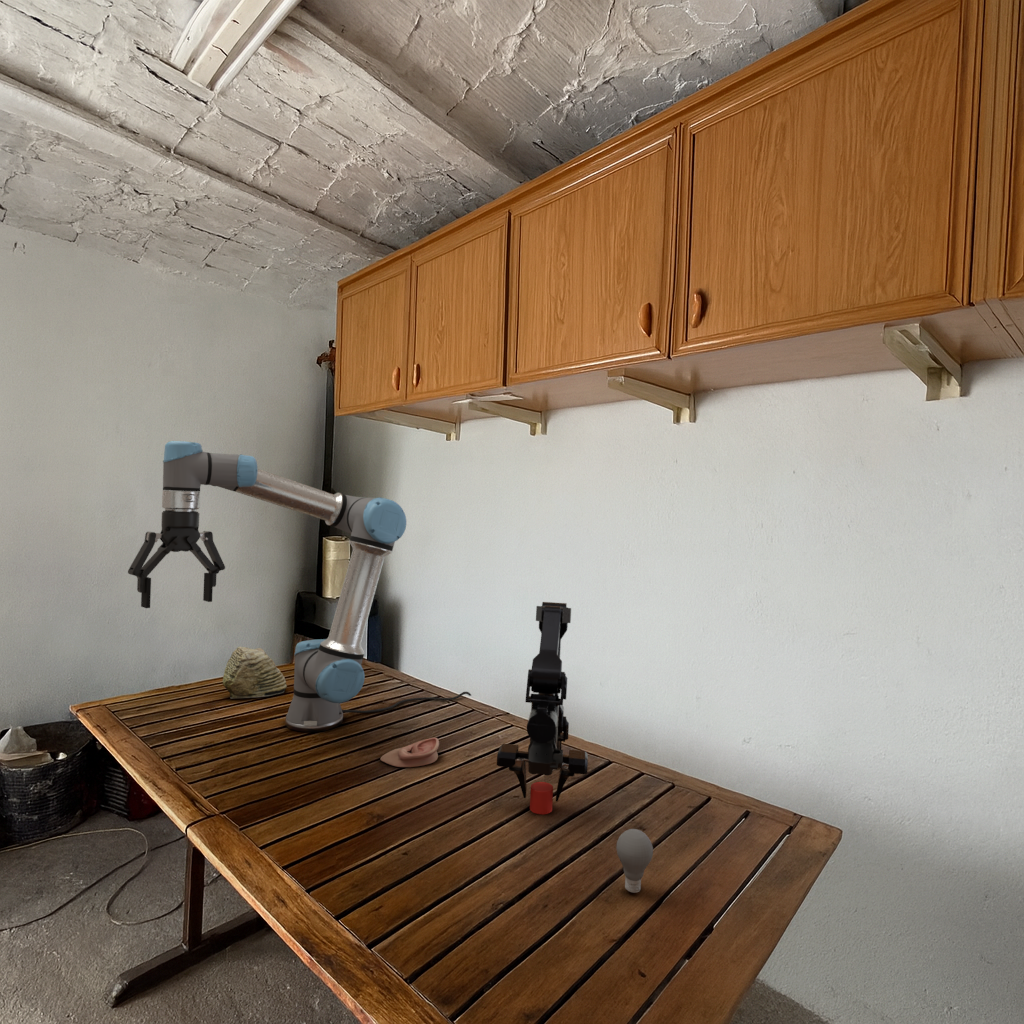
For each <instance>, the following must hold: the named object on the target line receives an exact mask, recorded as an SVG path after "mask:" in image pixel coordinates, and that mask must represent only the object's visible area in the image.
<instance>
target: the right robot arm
mask: <svg viewBox="0 0 1024 1024" xmlns="http://www.w3.org/2000/svg"><path fill="white" fill-rule="evenodd" d="M535 609H536V610H535V612H536V613H535V621H536V622H538V630H539V632H540V634H541V635H540V642H539V650H538V651H539V652H538V654H537V655H535V657H533V658H532V663H531V668H530V669H528V670H527V671H528V672H527V680H526V691H525V701H524V702H525V703H527V704H528V703H530V704H531V705H530V706H531V707H530V708H531V709H530V712H529V715H528V719H527V724H526V733H527V736H528V737H529V744H528V747H527V751H524V750H519V749H520V747H519V744H512V743H511V744H510V743H502V744H501V745H500V746H499V748H498V751H497V755H496V766H497V767H500V768H501V767H502V768H508V770H509V771H510V772H513V773H514V774H515V776H516V777H517V780H518V782H519V786H520V790H521V793H522V798H523V799H526V798H527V790H528V789H527V788H528V787H527V786H528V785H527V771H526V770H527V767H526V765H527V764H526V763H527V762H528V773H529V774H531V775H544V776H546V777H548V776H551V775H553V770H558V769H559V774H558V780H557V784H556V785H557V787H556V791H555V802H559V799H560V796H561V794H562V791H563V789H564V786H565V784H566V782H567V781H568V779H569V778H572V777H575V775H588V768H589V767H588V765H589V755H588V752H587V751H586V750H579V749H568V754H564V750H563V749H562V743H564V742H566V741H567V740H569V732H570V731H569V730H570V729H569V727H570V723H569V721H568V719H567V716H566V715H564V713H565V708H564V700H567V693H568V677H567V674H566V672H565V671H563V661H562V659H561V649H562V639H563V637H564V636H565V634H566V632H567V631H568V628H569V627H568V626H569V624H571V622H572V607H568V604H567V602H553V601H552V602H551V601H542V603H541V605H536V608H535ZM531 692H532V693H531ZM559 694H560V695H559Z"/></svg>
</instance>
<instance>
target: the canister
mask: <svg viewBox="0 0 1024 1024" xmlns="http://www.w3.org/2000/svg"><path fill="white" fill-rule="evenodd" d="M553 802H554V786H553V785H552V784H551V783H549V782H546V781H535V782H532V784H530V795H529V810H530V811H531V812H532V813H533V814H536V815H549V814H550V813H552V812H553Z"/></svg>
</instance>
